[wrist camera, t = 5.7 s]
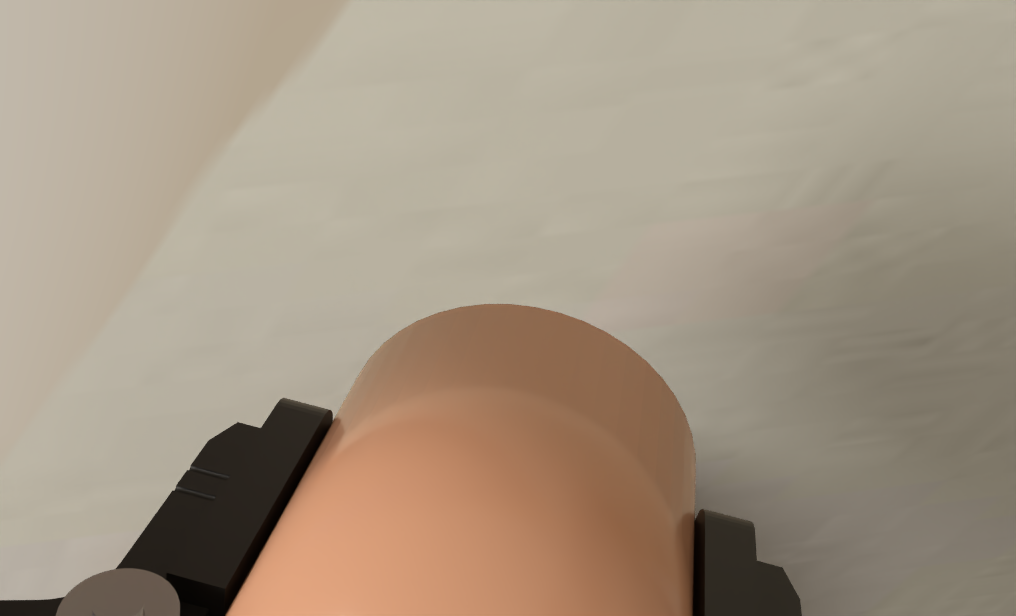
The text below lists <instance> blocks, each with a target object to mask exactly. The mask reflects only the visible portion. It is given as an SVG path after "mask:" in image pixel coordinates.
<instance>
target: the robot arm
mask: <svg viewBox="0 0 1016 616" xmlns="http://www.w3.org/2000/svg"><path fill="white" fill-rule="evenodd" d="M332 421H333V415H332V411H331V410H328V409H324V408H320V407H317V406H313V405H309V404H305V403H301V402H298V401H294V400H290V399H286V398H282V399H281V400H280V401H279V402H278V403H277V405H276V406H275V408H274V409H273V411H272V412H271V414H270V415H269V417H268V418H267V420H266V421H265V423H264V424H263V426H262V427H261V428H258V427H254V426H250V425H246V424H243V423H239V422H238V423H236V424H234V425H233V426H231V427H230V428H228V429H226V430H225V431H223V432H222V433H220V434H218V435H217V436H215V437H213V438H212V439H210V440H209V441H208V442H207V444H206V445H205V446H204V448H203V449H202V450H201V452H200V453H199V455H198V456H197V457H196V459H195V460H194V462H193V463H192V464H191V467H190V470H187V471H186V473H185V474H184V476H183V477H182V478H181V480H180V481H179V482H178V484H177V485H176V489H175V491H172V492H171V494H170V495H169V496H168V498H167V499H166V501H165V502H164V503H163V505H162V506H161V507H160V509H159V510H158V512H157V513H156V514H155V516H154V517H153V519H152V520H151V521H150V523H149V524H148V526H147V527H146V528H145V530H144V531H143V533H142V534H141V535H140V537H139V538H138V539H137V541H136V542H135V544H134V545H133V546H132V548H131V549H130V551H129V552H128V553H127V555H126V556H125V558H124V559H123V560H122V562H121V563H120V564H119V565H118V567H117V568H116V569H114V570H109V571H105V572H102V573H99V574H96V575H93V576H91V577H89V578H87V579H85V580H84V581H82V582H81V583H79V584H78V585H76V586H75V587H74V588H73V589H72V590H71V591H70V592H68V594H67V595H66V596H65V597H62V598H56V599H49V600H0V616H225V615H226V613H227V611H228V609H229V607H230V606H231V604H232V602H233V600H234V598H235V597H236V595H237V593H238V591H239V589H240V588H241V586H242V584H243V582H244V580H245V579H246V577H247V575H248V573H249V571H250V570H251V568H252V566H253V564H254V562H255V561H256V559H257V557H258V555H259V553H260V552H261V550H262V548H263V546H264V544H265V543H266V541H267V539H268V537H269V535H270V534H271V532H272V530H273V528H274V526H275V525H276V523H277V521H278V519H279V517H280V516H281V514H282V512H283V510H284V508H285V507H286V505H287V503H288V501H289V499H290V498H291V496H292V494H293V492H294V490H295V489H296V487H297V485H298V483H299V481H300V480H301V478H302V476H303V474H304V472H305V471H306V469H307V467H308V465H309V463H310V462H311V460H312V458H313V456H314V454H315V453H316V451H317V449H318V447H319V445H320V444H321V442H322V440H323V438H324V436H325V435H326V433H327V431H328V429H329V427H330V425H331V424H332ZM693 616H802V614H801V605H800V599H799V597H798V595H797V593H796V591H795V590H794V588H793V586H792V584H791V582H790V581H789V579H788V577H787V575H786V573H785V572H784V570H783V568H782V567H778V566H774V565H770V564H767V563H763V562H759V561H757V559H756V542H755V528H754V524H753V523H752V522H750V521H747V520H743V519H739V518H735V517H731V516H728V515H724V514H720V513H716V512H712V511H708V510H705V509H701V510H700V512H699V513H698V515H697V517H696V520H695V542H694V602H693Z"/></svg>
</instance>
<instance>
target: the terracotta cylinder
mask: <svg viewBox="0 0 1016 616" xmlns="http://www.w3.org/2000/svg"><path fill="white" fill-rule="evenodd" d="M695 482H696V454H695V449H694V443H693V437H692V433H691V430H690V427H689V424H688V421H687V419H686V416H685V414H684V412H683V410H682V408H681V406H680V404H679V402H678V400H677V398H676V396H675V395H674V394H673V392H672V391H671V390H670V388H669V387H668V385H667V384H666V383H665V381H664V380H663V378H662V377H661V376H660V375H659V374H658V373H657V372H656V371H655V370H654V369H653V368H652V367H651V366H650V365H649V364H648V362H647V361H645V360H644V359H643V358H642V357H641V356H639V355H638V354H637V353H636V352H635V351H633V350H632V349H631V348H630V347H628V346H627V345H626V344H624V343H622V342H621V341H619V340H618V339H616V338H615V337H613V336H611V335H610V334H608V333H607V332H605V331H603V330H601V329H599V328H596V327H594V326H592V325H590V324H588V323H586V322H584V321H581V320H579V319H576V318H573V317H570V316H567V315H564V314H562V313H558V312H554V311H550V310H545V309H541V308H537V307H530V306H521V305H512V304H483V305H474V306H466V307H460V308H455V309H451V310H447V311H443V312H439V313H437V314H434V315H431V316H429V317H426V318H424V319H421V320H419V321H417V322H415V323H413V324H411V325H410V326H408V327H406V328H404V329H402V330H401V331H399V332H398V333H396V334H395V335H394V336H393V337H391V338H390V339H389V340H387V341H386V342H385V343H384V344H383V345H382V346H381V347H380V348H379V349H378V350H377V351H376V352H375V353H374V354H373V355H372V356H371V357H370V358H369V360H368V361H367V363H366V364H365V366H364V367H363V369H362V370H361V372H360V373H359V375H358V377H357V379H356V380H355V382H354V384H353V386H352V388H351V389H350V391H349V393H348V395H347V397H346V398H345V400H344V402H343V404H342V406H341V407H340V409H339V411H338V413H337V415H336V416H335V418H334V420H333V422H332V424H331V425H330V427H329V429H328V431H327V433H326V435H325V436H324V438H323V440H322V442H321V444H320V445H319V447H318V449H317V451H316V453H315V454H314V456H313V458H312V460H311V462H310V463H309V465H308V467H307V469H306V471H305V472H304V474H303V476H302V478H301V480H300V481H299V483H298V485H297V487H296V489H295V490H294V492H293V494H292V496H291V498H290V499H289V501H288V503H287V505H286V507H285V508H284V510H283V512H282V514H281V516H280V517H279V519H278V521H277V523H276V525H275V526H274V528H273V530H272V532H271V534H270V535H269V537H268V539H267V541H266V543H265V544H264V546H263V548H262V550H261V552H260V553H259V555H258V557H257V559H256V561H255V562H254V564H253V566H252V568H251V570H250V571H249V573H248V575H247V577H246V579H245V580H244V582H243V584H242V586H241V588H240V589H239V591H238V593H237V595H236V597H235V598H234V600H233V602H232V604H231V606H230V607H229V609H228V611H227V613H226V615H225V616H693V602H694V542H695Z"/></svg>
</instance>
